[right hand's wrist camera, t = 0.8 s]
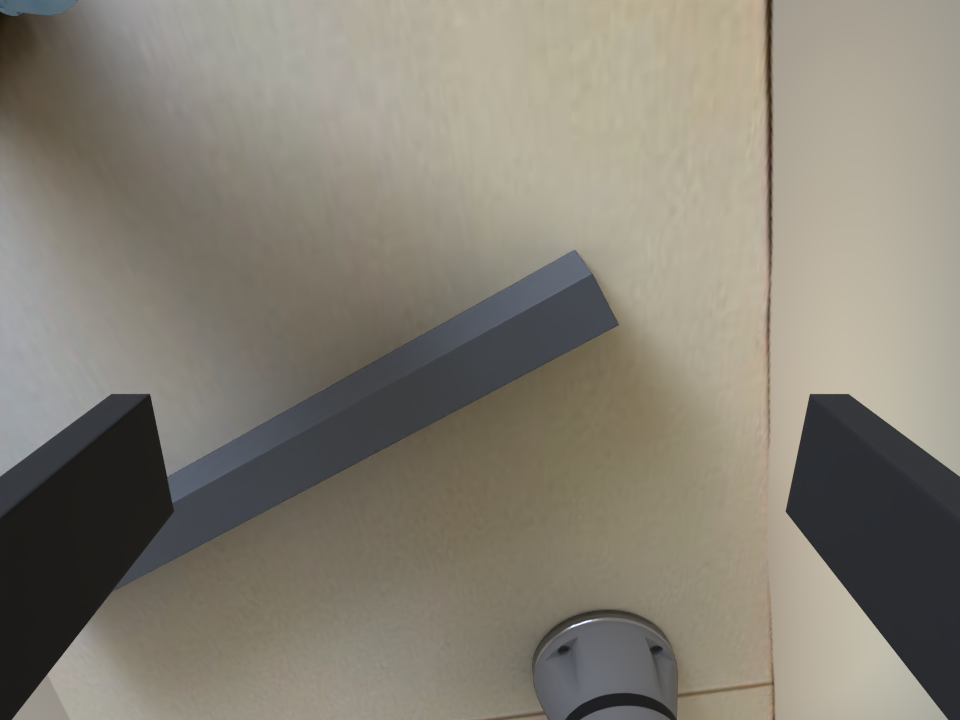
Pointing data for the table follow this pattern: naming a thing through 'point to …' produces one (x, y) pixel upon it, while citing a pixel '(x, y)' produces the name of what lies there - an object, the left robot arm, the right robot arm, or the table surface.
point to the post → (382, 405)
